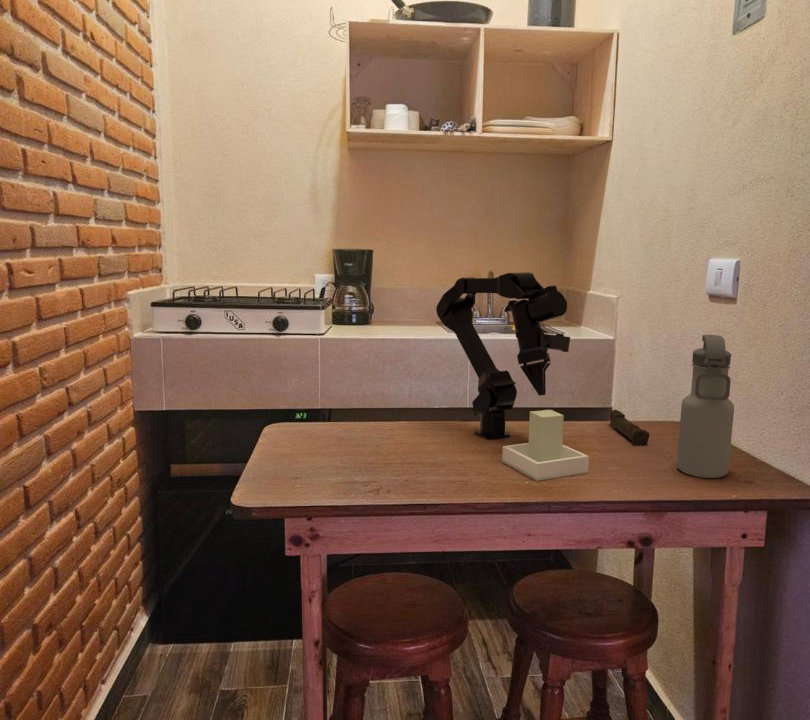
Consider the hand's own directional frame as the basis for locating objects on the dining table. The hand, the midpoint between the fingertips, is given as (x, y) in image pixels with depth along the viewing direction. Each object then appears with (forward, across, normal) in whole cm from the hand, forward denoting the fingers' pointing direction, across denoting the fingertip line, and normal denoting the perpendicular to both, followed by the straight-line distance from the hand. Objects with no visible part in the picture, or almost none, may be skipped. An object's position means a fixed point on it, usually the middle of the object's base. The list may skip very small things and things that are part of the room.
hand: (542, 395), depth 148 cm
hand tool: (+14, +22, -16) cm, 30 cm away
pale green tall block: (+14, -8, +2) cm, 17 cm away
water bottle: (+22, -2, -28) cm, 36 cm away
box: (+15, -8, +2) cm, 17 cm away
